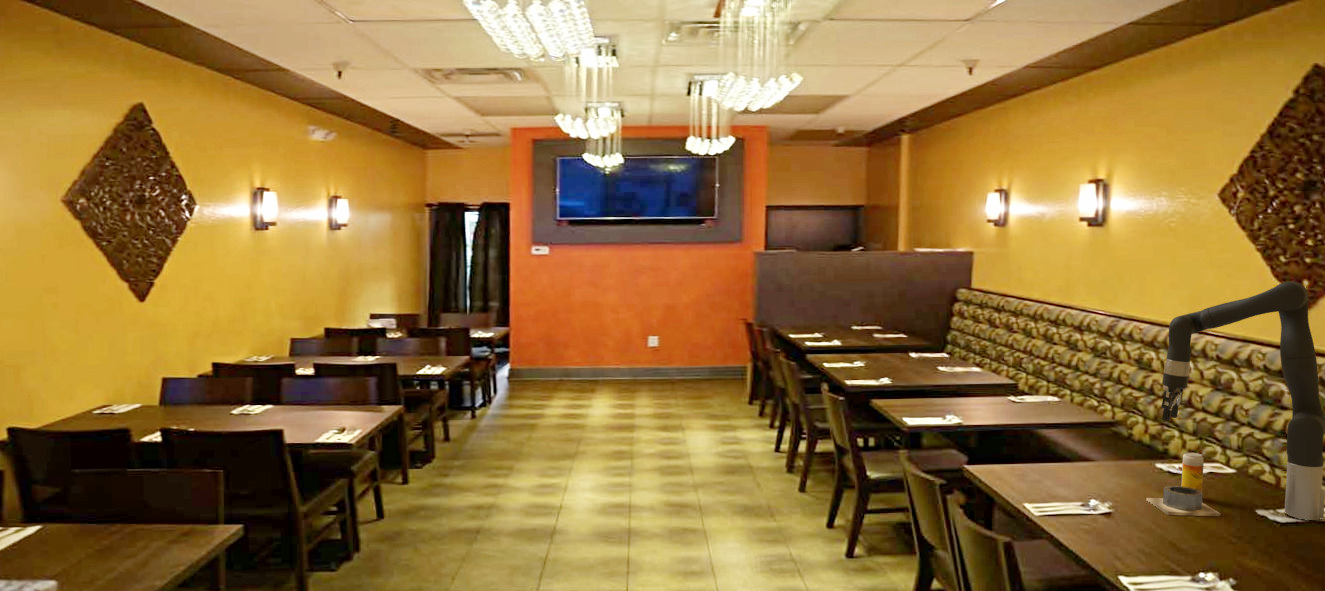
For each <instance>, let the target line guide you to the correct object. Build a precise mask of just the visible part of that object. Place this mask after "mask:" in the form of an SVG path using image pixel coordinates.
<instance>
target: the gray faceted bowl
mask: <svg viewBox="0 0 1325 591" xmlns="http://www.w3.org/2000/svg"><path fill="white" fill-rule="evenodd" d="M1203 493H1204V492H1203V491H1202V492H1201V491H1200V490H1198V489H1194V488H1190V487H1184V486H1182V485H1167V486H1164V487H1163V495H1162V498H1163V504H1165V505H1166V506H1168V507H1171V508H1175V509H1180V510H1190V511H1196V510H1201V509H1202V503H1203Z"/></svg>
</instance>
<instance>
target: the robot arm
mask: <svg viewBox="0 0 1325 591" xmlns="http://www.w3.org/2000/svg"><path fill="white" fill-rule="evenodd" d="M1276 312H1278V315H1279V320H1280V339H1279V340H1280V341H1279V353H1280V354H1279V355H1280V357H1279V358H1280V363H1281V371H1282V375H1283V378H1284V381H1285V384H1286V386H1287V389H1288V392H1289V393H1290V398H1291V405H1292V406H1291V408H1292V409H1291V410H1292V418H1291V419H1290V421H1289V423H1288V425H1287V431H1286V433H1287V434H1286V455H1287V456H1286V457H1287V460H1286V462H1287V463H1286V479H1285V480H1286V481H1285V482H1286V483H1285V499H1284V500H1285V501H1284V513H1285V512H1286V513H1287V514H1288V515H1290V516H1293V517H1296V518H1300V519H1299V520H1301V519H1308V520H1307V521H1309V520H1316V521H1319V520H1318V519H1320V518H1323V519H1324V515H1325V513H1324V511H1325V489H1323V472H1324V453H1323V451H1324V450H1323V448H1324V436H1325V415H1324V412H1323V409H1322V406H1321V400H1320V394H1319V389H1320V388H1319V387H1320V386H1319V374H1318V373H1319V372H1318V370H1319V369H1318V362H1317V355H1316V350H1315V344H1314V341H1313V336H1312V332H1311V328H1310V324H1309V323H1310V322H1309V292H1308V291H1307V289H1306V286H1304V285H1303V284H1302V283H1300V282H1298V281H1292V280H1291V281H1290V280H1289V281H1284V282H1280V283H1279V284H1277V285H1276V286H1273V287H1272V288H1270V289H1268V290H1265V291H1263V292H1261V293H1258V294H1256V295H1253V296H1252V295H1251V296H1249V297H1247V298H1242V299H1237V300H1233V301H1228V302H1223V303H1221V304H1217V305H1213V306H1210V307H1207V308H1204V309H1201V310H1198V311H1194V312H1191V313H1190V312H1189V313H1187V314H1183V315H1179V316H1176V317H1174V318H1173V319H1172V320H1171V321H1170V323H1169V325H1168V326H1169V327H1168V347H1167V351H1166V352H1167V353H1166V359H1165V363H1164V369H1163V374H1162V382H1161V384H1162V385H1163V386H1165V387H1167V390H1164V391H1163V395H1162V402H1161V406H1160V407H1161V409H1163V411H1162V420H1163V421H1166V422H1169V421H1170V420H1171V418H1173V419H1174V418H1175V419H1176V418H1177V417H1178V414H1179V408H1180V406H1181V405H1182V403H1183V402H1182V401H1183V396H1184V395H1183V394H1184V390H1185V389H1187V387H1188V383H1189V377H1190V371H1191V369H1190V368H1191V357H1192V346H1191V340H1192V335H1193V334H1196V333H1200V332H1202V331H1203V332H1204V331H1206V330H1210V329H1217V328H1219V327H1223V326H1227V325H1228V326H1229V325H1232V324H1234V323H1238V322H1240V321H1243V320H1246V319H1250V318H1252V317H1256V316H1259V315H1264V314H1269V313H1270V314H1271V313H1276ZM1296 518H1295V519H1296ZM1320 520H1321V519H1320Z"/></svg>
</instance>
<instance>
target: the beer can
mask: <svg viewBox="0 0 1325 591" xmlns="http://www.w3.org/2000/svg"><path fill="white" fill-rule="evenodd" d="M1204 460H1205V459H1204V456H1203V454H1200V453H1197V452H1184V454H1183V455H1182V464H1181V465H1182V467H1181V468H1182V470H1181V486H1184V487H1190V488H1194V489H1198V490H1200V491H1201V492H1203V484H1204V483H1203V481H1204V479H1203V478H1204Z"/></svg>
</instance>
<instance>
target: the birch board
mask: <svg viewBox="0 0 1325 591" xmlns="http://www.w3.org/2000/svg"><path fill="white" fill-rule="evenodd" d="M1147 501H1148V502H1147ZM1146 502H1147V503H1149V502H1150V503H1149V504H1151V505H1152V504H1153V505H1152V506H1154V507H1155V506H1156V508H1157V509H1158V510H1160V511H1161V512H1163V513H1164V514H1165V515H1167V516H1189V517H1190V516H1193V517H1195V516H1196V517H1197V516H1199V517H1221V512H1219V511H1217V510H1216V509H1214V508H1212V507H1210V506H1209V505H1207V504H1206V503H1204V502H1202V509H1201V510H1196V511H1190V510H1180V509H1175V508H1171V507H1168V506H1166V505H1165V504H1163V497H1162V498H1161V497H1146Z"/></svg>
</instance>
